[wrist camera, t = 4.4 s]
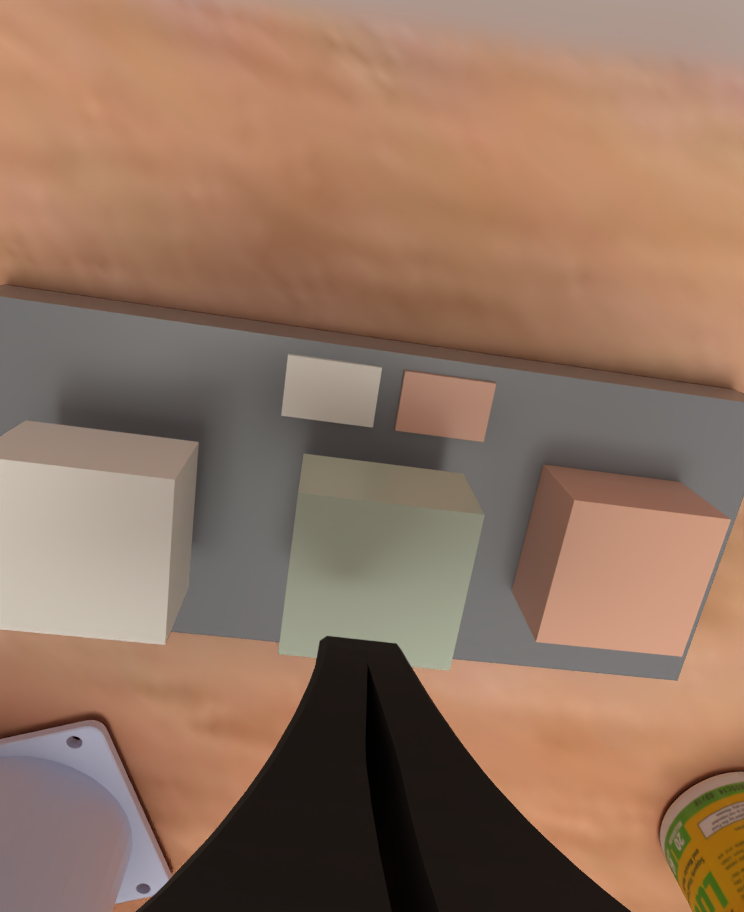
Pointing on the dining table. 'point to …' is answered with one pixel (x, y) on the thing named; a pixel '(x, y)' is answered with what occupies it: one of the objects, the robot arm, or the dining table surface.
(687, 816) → the supplement bottle
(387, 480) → the sage key
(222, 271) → the dining table surface
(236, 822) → the robot arm
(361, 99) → the dining table surface
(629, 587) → the terracotta key
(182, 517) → the cream key
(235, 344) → the grey key panel base
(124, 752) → the dining table surface
